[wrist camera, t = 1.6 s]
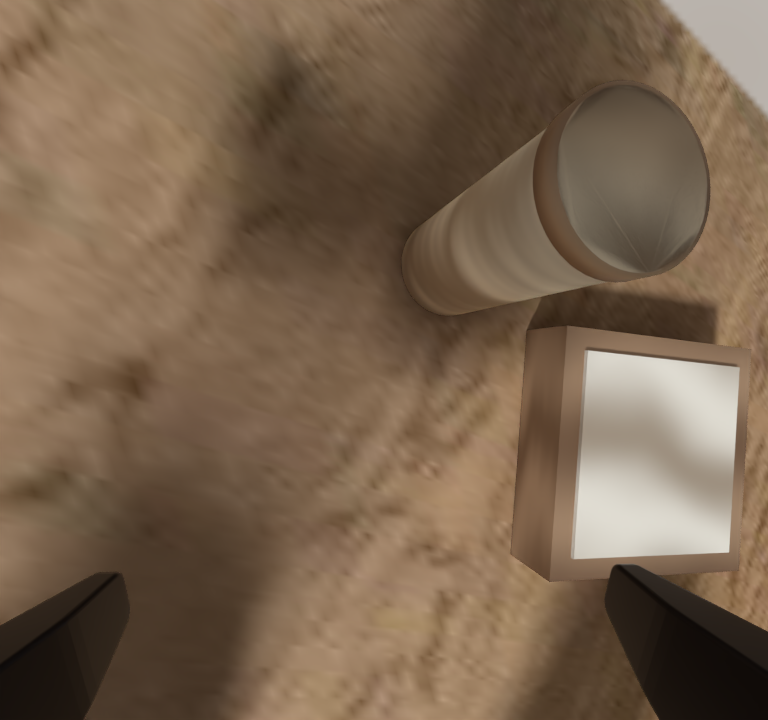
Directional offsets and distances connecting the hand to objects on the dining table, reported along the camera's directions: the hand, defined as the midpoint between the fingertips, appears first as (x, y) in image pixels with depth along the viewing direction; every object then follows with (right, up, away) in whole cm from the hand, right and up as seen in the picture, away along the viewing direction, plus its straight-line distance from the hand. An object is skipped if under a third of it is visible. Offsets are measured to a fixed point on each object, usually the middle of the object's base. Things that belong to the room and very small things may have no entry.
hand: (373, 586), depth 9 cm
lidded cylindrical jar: (+3, +9, +13) cm, 16 cm away
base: (+12, 0, +16) cm, 20 cm away
